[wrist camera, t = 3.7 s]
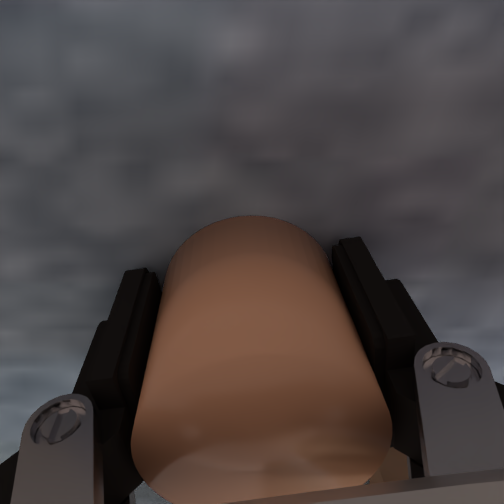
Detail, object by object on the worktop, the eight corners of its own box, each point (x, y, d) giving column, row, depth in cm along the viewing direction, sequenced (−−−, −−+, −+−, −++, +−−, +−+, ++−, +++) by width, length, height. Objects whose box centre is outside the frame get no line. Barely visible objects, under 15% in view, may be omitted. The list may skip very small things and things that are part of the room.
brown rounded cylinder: (331, 204, 11) (400, 335, 7) (334, 344, 13) (387, 506, 9) (146, 228, 11) (97, 373, 7) (182, 363, 14) (163, 533, 9)
